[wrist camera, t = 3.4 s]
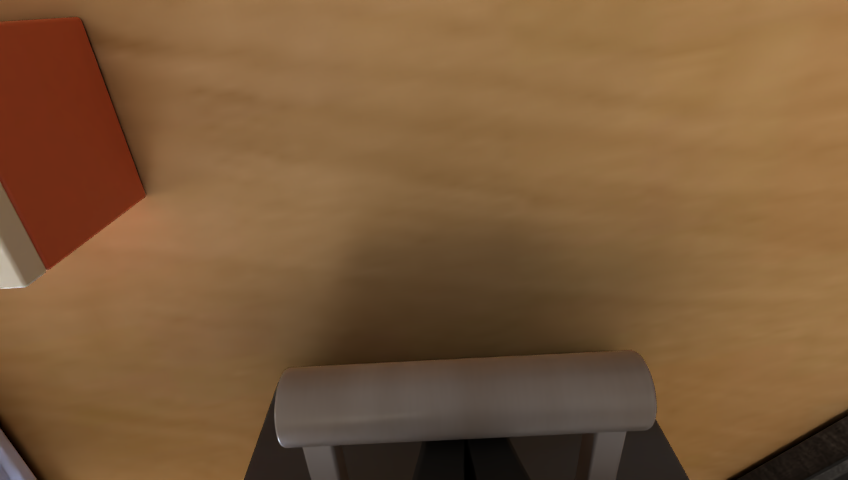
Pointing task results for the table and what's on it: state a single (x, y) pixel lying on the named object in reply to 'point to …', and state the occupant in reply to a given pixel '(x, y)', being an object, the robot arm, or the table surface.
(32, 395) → the table surface
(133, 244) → the table surface
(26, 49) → the carton
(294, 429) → the drawer
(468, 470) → the robot arm
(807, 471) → the phone
